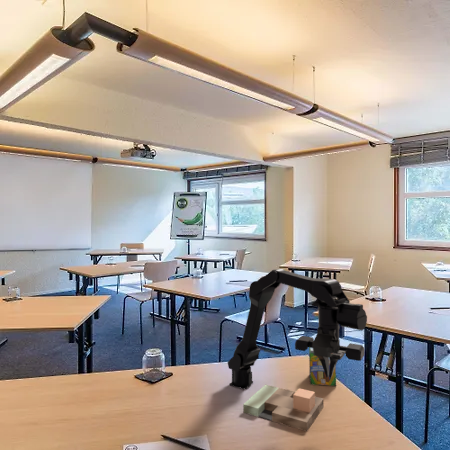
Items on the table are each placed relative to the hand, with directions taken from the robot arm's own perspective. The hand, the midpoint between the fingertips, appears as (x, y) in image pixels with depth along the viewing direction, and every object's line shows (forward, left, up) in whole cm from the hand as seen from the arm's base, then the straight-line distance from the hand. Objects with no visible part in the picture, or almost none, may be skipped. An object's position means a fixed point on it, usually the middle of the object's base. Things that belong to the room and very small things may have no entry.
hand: (329, 377), depth 105 cm
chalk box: (-10, +27, -13) cm, 32 cm away
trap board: (-14, 0, -13) cm, 19 cm away
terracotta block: (-8, 0, -10) cm, 13 cm away
